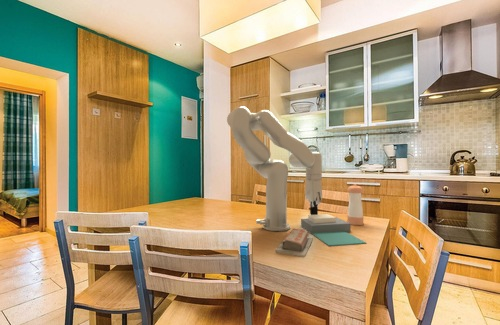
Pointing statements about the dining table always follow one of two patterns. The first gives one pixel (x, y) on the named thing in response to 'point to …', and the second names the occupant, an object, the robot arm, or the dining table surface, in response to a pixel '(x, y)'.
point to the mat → (338, 238)
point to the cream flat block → (322, 218)
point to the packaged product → (295, 243)
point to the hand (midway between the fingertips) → (313, 214)
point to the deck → (326, 226)
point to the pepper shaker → (355, 205)
